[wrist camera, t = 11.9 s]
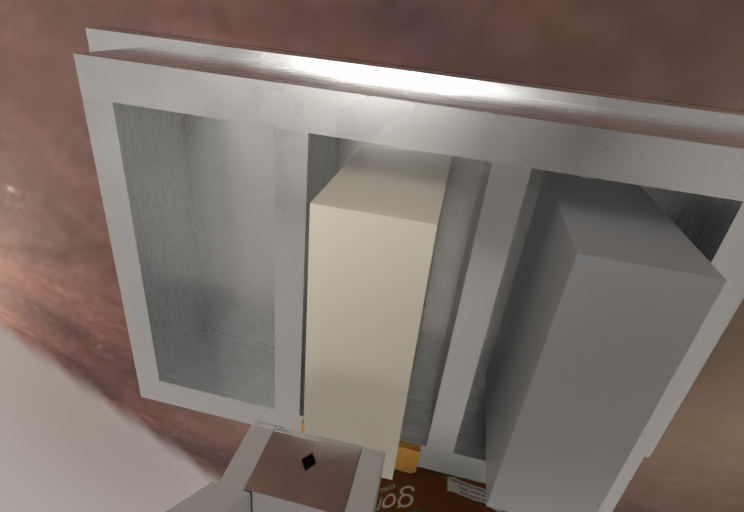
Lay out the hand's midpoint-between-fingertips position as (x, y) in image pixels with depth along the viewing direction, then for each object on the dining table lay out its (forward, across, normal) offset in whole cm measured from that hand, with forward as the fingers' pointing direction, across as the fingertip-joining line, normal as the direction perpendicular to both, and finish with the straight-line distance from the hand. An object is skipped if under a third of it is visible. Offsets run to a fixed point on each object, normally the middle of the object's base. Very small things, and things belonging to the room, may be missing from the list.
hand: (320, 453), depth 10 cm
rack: (+10, 0, 0) cm, 10 cm away
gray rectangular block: (+9, -6, 0) cm, 11 cm away
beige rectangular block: (+9, 0, 0) cm, 9 cm away
